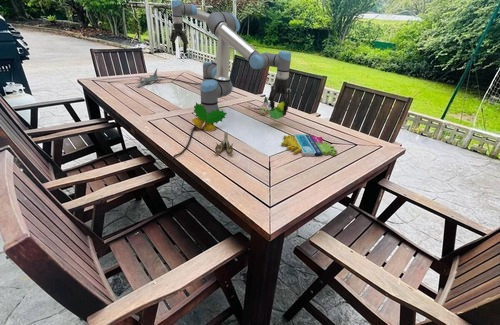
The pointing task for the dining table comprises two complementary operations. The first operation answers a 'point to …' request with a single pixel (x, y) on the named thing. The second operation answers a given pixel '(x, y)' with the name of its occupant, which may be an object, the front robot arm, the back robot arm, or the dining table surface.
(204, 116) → the ornament
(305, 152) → the colourful gloves pack
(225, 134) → the jawbone
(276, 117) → the green box with toys
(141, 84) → the airplane
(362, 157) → the dining table surface
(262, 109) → the toy
